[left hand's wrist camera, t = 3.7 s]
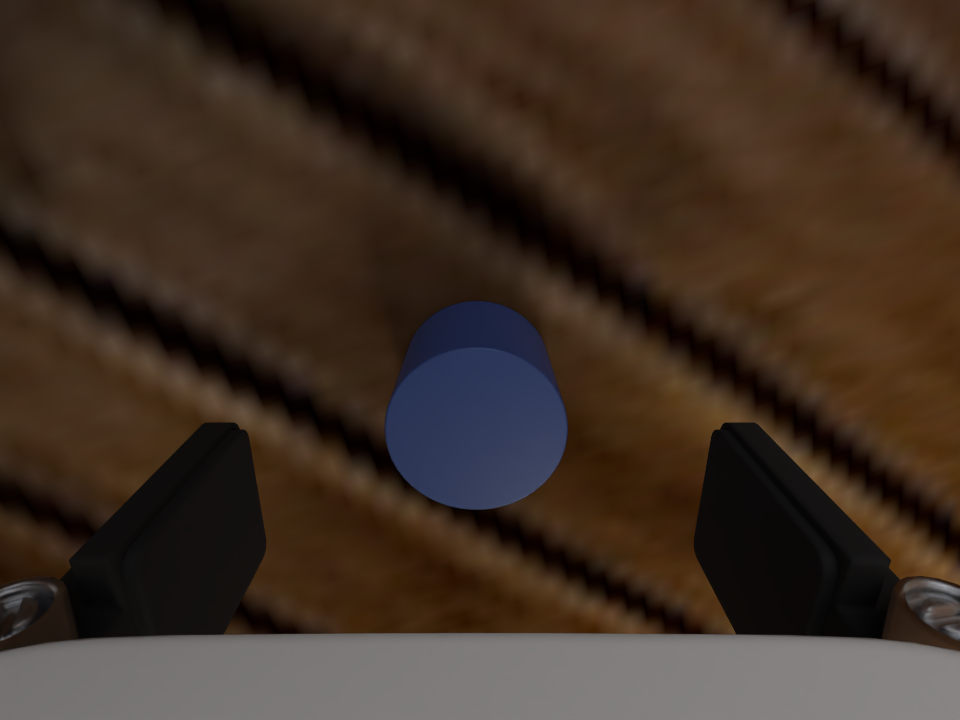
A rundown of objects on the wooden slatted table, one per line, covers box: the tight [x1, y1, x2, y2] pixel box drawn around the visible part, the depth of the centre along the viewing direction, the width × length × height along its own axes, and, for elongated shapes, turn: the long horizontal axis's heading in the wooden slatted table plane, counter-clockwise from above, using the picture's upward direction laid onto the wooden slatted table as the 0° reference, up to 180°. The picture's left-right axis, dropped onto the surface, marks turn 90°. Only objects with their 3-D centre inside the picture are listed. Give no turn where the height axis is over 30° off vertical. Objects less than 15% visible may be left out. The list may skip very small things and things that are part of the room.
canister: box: [385, 301, 568, 510], centre depth 15 cm, size 4×4×4 cm
